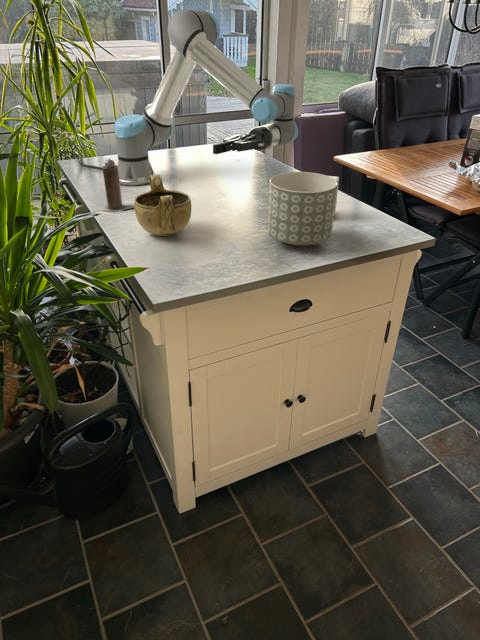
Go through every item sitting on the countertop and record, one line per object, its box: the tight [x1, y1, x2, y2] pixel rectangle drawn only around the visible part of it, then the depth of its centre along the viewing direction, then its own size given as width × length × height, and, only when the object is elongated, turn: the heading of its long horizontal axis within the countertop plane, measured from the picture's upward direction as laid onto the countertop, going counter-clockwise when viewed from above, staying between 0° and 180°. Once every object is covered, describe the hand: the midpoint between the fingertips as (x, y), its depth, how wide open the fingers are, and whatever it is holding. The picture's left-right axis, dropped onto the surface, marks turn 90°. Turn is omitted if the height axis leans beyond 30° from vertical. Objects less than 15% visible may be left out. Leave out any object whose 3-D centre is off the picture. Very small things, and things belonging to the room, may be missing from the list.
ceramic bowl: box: [133, 174, 192, 237], centre depth 152 cm, size 22×17×15 cm
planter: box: [267, 171, 338, 248], centre depth 147 cm, size 19×19×18 cm
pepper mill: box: [101, 158, 124, 211], centre depth 170 cm, size 5×5×16 cm
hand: (214, 149), depth 158 cm, fingers closed
